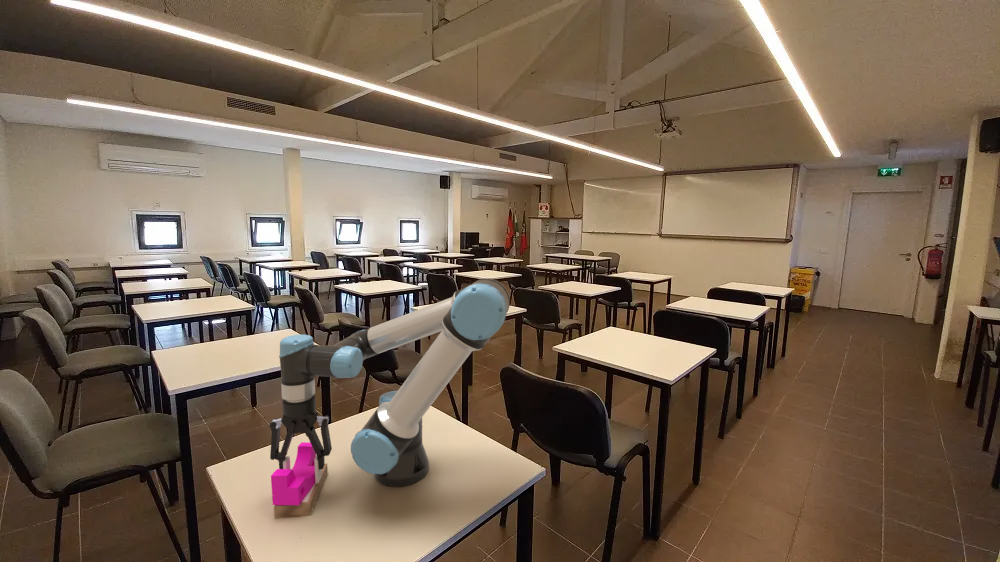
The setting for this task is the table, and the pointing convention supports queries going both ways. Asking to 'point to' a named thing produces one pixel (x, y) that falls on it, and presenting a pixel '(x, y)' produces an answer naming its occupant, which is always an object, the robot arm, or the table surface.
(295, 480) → the magenta bracket
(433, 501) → the table surface
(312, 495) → the base slab
